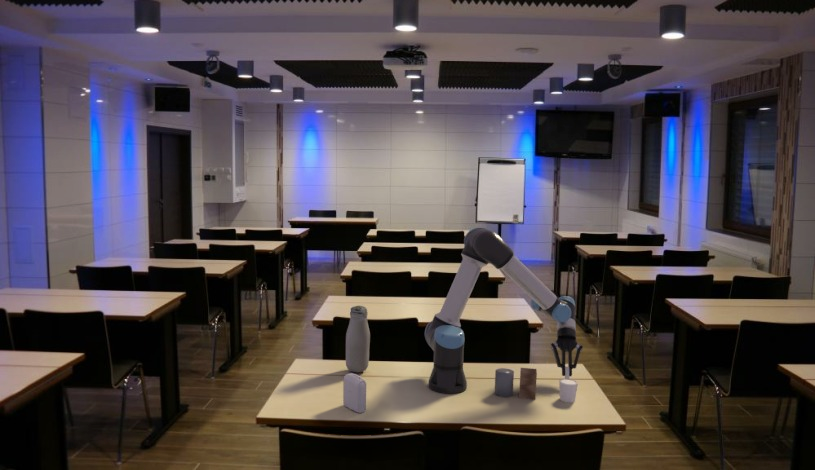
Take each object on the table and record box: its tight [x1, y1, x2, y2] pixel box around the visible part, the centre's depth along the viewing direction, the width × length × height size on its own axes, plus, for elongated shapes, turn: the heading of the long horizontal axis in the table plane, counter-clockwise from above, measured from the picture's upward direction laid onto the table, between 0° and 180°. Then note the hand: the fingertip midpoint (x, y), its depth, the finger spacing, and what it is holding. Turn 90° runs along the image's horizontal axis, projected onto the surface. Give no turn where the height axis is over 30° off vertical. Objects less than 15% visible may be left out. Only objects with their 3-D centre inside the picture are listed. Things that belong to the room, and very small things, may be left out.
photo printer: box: [342, 372, 367, 414], centre depth 228 cm, size 10×4×12 cm, turn 39°
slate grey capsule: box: [494, 367, 515, 398], centre depth 247 cm, size 7×7×9 cm
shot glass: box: [558, 378, 579, 403], centre depth 243 cm, size 7×7×7 cm
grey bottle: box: [345, 305, 371, 373], centre depth 267 cm, size 10×10×28 cm
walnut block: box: [518, 367, 538, 400], centre depth 245 cm, size 6×6×10 cm
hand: (567, 383), depth 253 cm, fingers closed
